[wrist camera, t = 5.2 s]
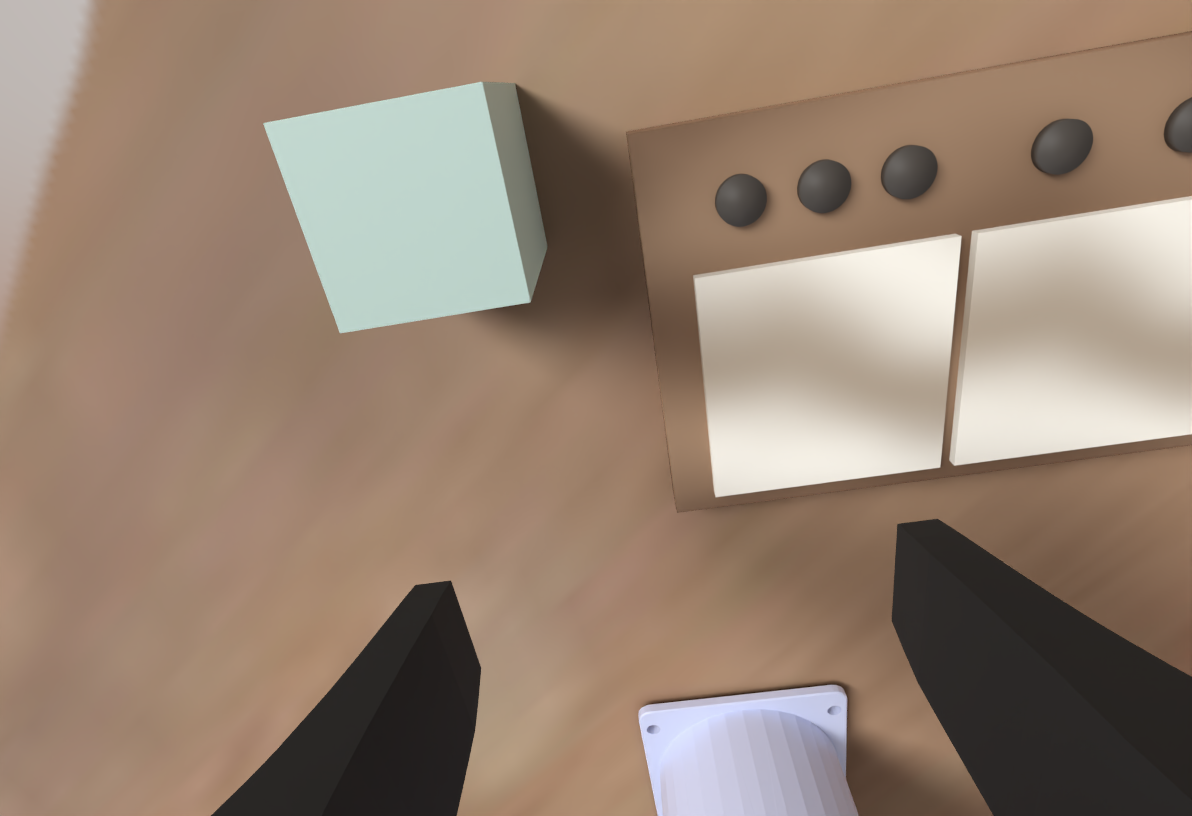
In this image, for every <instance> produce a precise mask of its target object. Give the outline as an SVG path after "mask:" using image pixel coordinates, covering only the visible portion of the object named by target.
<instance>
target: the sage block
mask: <svg viewBox="0 0 1192 816" xmlns="http://www.w3.org/2000/svg"><path fill="white" fill-rule="evenodd" d="M263 124H264V127H265V130H266V132H267V135H268V138H269V140H270V143H271V146H272V149H273V151H274V154H275V157H276V160H277V162H278V165H279V168H280V170H281V173H282V176H283V179H284V181H285V184H286V187H287V190H288V192H289V195H290V198H291V200H292V203H293V206H294V209H295V211H296V214H297V217H298V220H299V222H300V225H301V228H302V230H303V233H304V236H305V239H306V241H307V244H308V247H309V250H310V252H311V255H312V258H313V260H314V263H315V266H316V269H317V271H318V274H319V277H320V280H321V282H322V285H323V288H324V290H325V293H326V296H327V299H328V301H329V304H330V307H331V310H332V312H333V315H334V318H335V320H336V323H337V326H338V329H339V331H340V333H345V332H351V331H357V330H363V329H369V328H375V327H382V326H388V325H394V324H400V323H406V322H413V321H419V320H425V319H431V318H437V317H443V316H450V315H456V314H462V313H468V312H474V311H481V310H487V309H493V308H499V307H505V306H511V305H518V304H524V303H530V302H531V299H532V296H533V293H534V290H535V286H536V283H537V280H538V277H539V273H540V270H541V267H542V264H543V260H544V257H545V254H546V251H547V247H548V246H547V241H546V236H545V231H544V226H543V221H542V216H541V211H540V206H539V201H538V196H537V191H536V186H535V181H534V176H533V171H532V166H531V161H530V156H529V151H528V146H527V141H526V136H525V131H524V126H523V121H522V116H521V111H520V106H519V101H518V96H517V91H516V86H515V83H499V82H478V83H473V84H468V85H462V86H457V87H452V88H447V89H441V90H436V91H431V92H425V93H420V94H415V95H410V96H404V97H399V98H394V99H389V100H383V101H378V102H373V103H367V104H362V105H357V106H352V107H346V108H341V109H336V110H330V111H325V112H320V113H315V114H309V115H304V116H299V117H293V118H288V119H283V120H278V121H272V122H267V123H263Z"/></svg>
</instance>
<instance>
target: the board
mask: <svg viewBox="0 0 1192 816" xmlns="http://www.w3.org/2000/svg"><path fill="white" fill-rule="evenodd" d="M626 135H627V142H628V150H629V158H630V165H631V173H632V180H633V188H634V196H635V203H636V211H637V219H638V226H639V234H640V241H641V249H642V257H643V264H644V272H645V280H646V287H647V295H648V302H649V310H650V318H651V325H652V333H653V340H654V348H655V356H656V363H657V371H658V379H659V386H660V394H661V401H662V409H663V417H664V424H665V432H666V440H667V447H668V455H669V462H670V470H671V478H672V485H673V493H674V499H675V504H676V509H677V513H678V512H686V511H694V510H701V509H709V508H716V507H724V506H732V505H739V504H747V503H755V502H762V501H770V500H777V499H785V498H793V497H800V496H808V495H815V494H823V493H831V492H838V491H846V490H853V489H861V488H869V487H876V486H884V485H892V484H899V483H907V482H914V481H922V480H930V479H937V478H945V477H952V476H960V475H968V474H975V473H983V472H990V471H998V470H1006V469H1013V468H1021V467H1029V466H1036V465H1044V464H1051V463H1059V462H1067V461H1074V460H1082V459H1089V458H1097V457H1105V456H1112V455H1120V454H1127V453H1135V452H1143V451H1150V450H1158V449H1165V448H1173V447H1181V446H1188V445H1192V31H1191V32H1185V33H1179V34H1174V35H1168V36H1163V37H1157V38H1151V39H1146V40H1140V41H1134V42H1129V43H1123V44H1118V45H1112V46H1106V47H1101V48H1095V49H1089V50H1084V51H1078V52H1072V53H1067V54H1061V55H1056V56H1050V57H1044V58H1039V59H1033V60H1027V61H1022V62H1016V63H1011V64H1005V65H999V66H994V67H988V68H982V69H977V70H971V71H966V72H960V73H954V74H949V75H943V76H937V77H932V78H926V79H920V80H915V81H909V82H904V83H898V84H892V85H887V86H881V87H875V88H870V89H864V90H859V91H853V92H847V93H842V94H836V95H830V96H825V97H819V98H813V99H808V100H802V101H797V102H791V103H785V104H780V105H774V106H768V107H763V108H757V109H752V110H746V111H740V112H735V113H729V114H723V115H718V116H712V117H707V118H701V119H695V120H690V121H684V122H678V123H673V124H667V125H661V126H656V127H650V128H645V129H639V130H633V131H628V132H626Z"/></svg>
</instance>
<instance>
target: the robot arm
mask: <svg viewBox="0 0 1192 816" xmlns="http://www.w3.org/2000/svg"><path fill="white" fill-rule="evenodd" d="M892 622H893V625H894V627H895V630H896V632H897V635H898V637H899V640H900V642H901V644H902V647H903V649H904V652H905V654H906V656H907V659H908V661H909V663H910V666H911V668H912V670H913V672H914V675H915V677H916V679H917V682H918V684H919V685H920V687H921V689H922V691H923V693H924V694H925V696H926V698H927V700H928V702H929V703H930V705H931V707H932V709H933V710H934V712H935V714H936V716H937V717H938V719H939V721H940V723H941V725H942V726H943V728H944V730H945V732H946V733H947V735H948V737H949V739H950V740H951V742H952V744H953V746H954V747H955V749H956V751H957V753H958V754H959V756H960V758H961V760H962V761H963V763H964V765H965V766H966V768H967V770H968V772H969V773H970V775H971V777H972V779H973V780H974V782H975V784H976V786H977V787H978V789H979V791H980V793H981V794H982V796H983V798H984V800H985V801H986V803H987V805H988V807H989V808H990V810H991V812H992V814H993V815H994V816H1192V677H1191V676H1189V675H1188V674H1186V673H1184V672H1182V671H1180V670H1178V669H1177V668H1175V667H1173V666H1171V665H1169V664H1167V663H1166V662H1164V661H1162V660H1160V659H1159V658H1157V657H1155V656H1153V655H1152V654H1150V653H1148V652H1147V651H1145V650H1143V649H1141V648H1140V647H1138V646H1136V645H1134V644H1133V643H1131V642H1129V641H1128V640H1126V639H1124V638H1122V637H1121V636H1119V635H1117V634H1115V633H1114V632H1112V631H1110V630H1109V629H1107V628H1105V627H1104V626H1102V625H1100V624H1099V623H1097V622H1096V621H1094V620H1092V619H1091V618H1089V617H1087V616H1086V615H1084V614H1082V613H1081V612H1079V611H1078V610H1076V609H1074V608H1073V607H1071V606H1070V605H1068V604H1066V603H1065V602H1063V601H1062V600H1060V599H1059V598H1057V597H1055V596H1054V595H1052V594H1051V593H1049V592H1048V591H1046V590H1044V589H1043V588H1041V587H1040V586H1038V585H1037V584H1035V583H1034V582H1032V581H1031V580H1029V579H1028V578H1026V577H1025V576H1023V575H1021V574H1020V573H1018V572H1017V571H1015V570H1014V569H1012V568H1011V567H1009V566H1008V565H1006V564H1005V563H1003V562H1002V561H1000V560H999V559H997V558H996V557H994V556H993V555H991V554H990V553H989V552H987V551H986V550H984V549H983V548H981V547H980V546H978V545H977V544H975V543H974V542H972V541H971V540H969V539H968V538H966V537H965V536H963V535H962V534H960V533H959V532H957V531H956V530H954V529H953V528H951V527H950V526H948V525H946V524H945V523H943V522H942V521H940V520H939V519H933V520H926V521H918V522H910V523H902V524H897V541H896V558H895V575H894V592H893V609H892ZM480 675H481V666H480V664H479V661H478V658H477V655H476V652H475V649H474V646H473V643H472V640H471V637H470V635H469V632H468V629H467V626H466V623H465V620H464V617H463V614H462V611H461V608H460V606H459V603H458V600H457V597H456V594H455V591H454V588H453V585H452V582H451V581H444V582H436V583H429V584H421V585H415V586H414V588H413V589H412V590H411V591H410V592H409V593H408V595H407V596H406V597H405V598H404V600H403V601H402V602H401V603H400V605H399V606H398V607H397V608H396V610H395V611H394V612H393V613H392V615H391V616H390V617H389V618H388V620H387V621H386V622H385V623H384V625H383V626H382V627H381V628H380V630H379V631H378V632H377V633H376V635H375V636H374V637H373V638H372V640H371V641H370V642H369V643H368V645H367V646H366V647H365V648H364V650H363V651H362V652H361V653H360V654H359V656H358V657H357V658H356V659H355V661H354V662H353V663H352V664H351V665H350V667H349V668H348V669H347V670H346V671H345V673H344V674H343V675H342V676H341V677H340V679H339V680H338V681H337V682H336V683H335V685H334V686H333V687H332V688H331V690H330V691H329V692H328V693H327V694H326V695H325V696H324V698H323V699H322V700H321V701H320V702H319V703H318V704H317V705H316V707H315V708H314V709H313V710H312V711H311V712H310V713H309V714H308V715H307V717H306V718H305V719H304V720H303V721H302V722H301V723H300V724H299V726H298V727H297V728H296V729H295V730H294V731H293V732H292V733H291V734H290V736H289V737H288V738H287V739H286V740H285V741H284V742H283V743H282V745H281V746H280V747H279V748H278V749H277V750H276V751H275V752H274V753H273V754H272V755H271V756H270V757H269V759H268V760H267V761H266V762H265V763H264V764H263V765H262V766H261V767H260V768H259V769H258V770H257V771H256V772H255V773H254V774H253V775H252V776H251V777H250V778H249V779H248V780H247V781H246V782H245V783H244V784H243V785H242V786H241V787H240V788H239V789H238V790H237V791H236V792H235V793H234V794H233V795H232V796H231V797H230V798H229V799H228V800H227V801H226V802H225V803H224V804H223V805H222V806H221V807H219V808H218V809H217V810H216V811H215V812H214V813H213V814H212V815H211V816H457V811H458V807H459V802H460V798H461V793H462V789H463V784H464V780H465V775H466V771H467V766H468V761H469V757H470V752H471V747H472V742H473V738H474V733H475V726H476V717H477V708H478V698H479V686H480ZM639 724H640V729H641V734H642V739H643V744H644V749H645V754H646V759H647V764H648V769H649V774H650V779H651V784H652V789H653V794H654V799H655V804H656V809H657V814H658V816H859V815H858V812H857V809H856V806H855V803H854V801H853V798H852V795H851V792H850V790H849V787H848V784H847V781H846V743H847V696H846V694H845V691H844V689H843V688H842V687H841V686H838V685H824V686H815V687H806V688H796V689H787V690H778V691H769V692H760V693H751V694H741V695H732V696H723V697H714V698H705V699H696V700H686V701H677V702H668V703H659V704H650V705H646V706H644V707H642V708H641V709H640V711H639Z"/></svg>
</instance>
